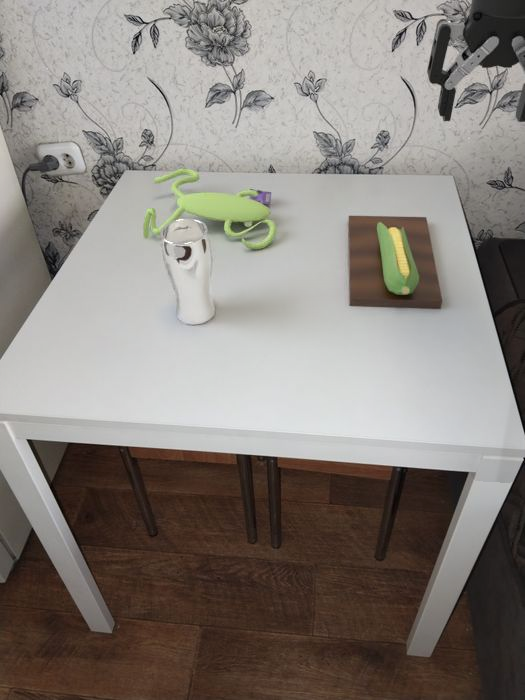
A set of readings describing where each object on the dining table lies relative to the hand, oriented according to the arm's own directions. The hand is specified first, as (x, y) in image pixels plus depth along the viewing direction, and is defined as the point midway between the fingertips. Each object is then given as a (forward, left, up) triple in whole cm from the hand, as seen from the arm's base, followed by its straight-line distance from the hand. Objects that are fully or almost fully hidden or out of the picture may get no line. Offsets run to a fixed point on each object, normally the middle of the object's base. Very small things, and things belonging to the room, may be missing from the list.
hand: (482, 119), depth 69 cm
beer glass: (+34, +16, -30) cm, 48 cm away
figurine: (+46, -8, -30) cm, 56 cm away
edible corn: (+10, -7, -29) cm, 31 cm away
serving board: (+11, -10, -30) cm, 33 cm away
